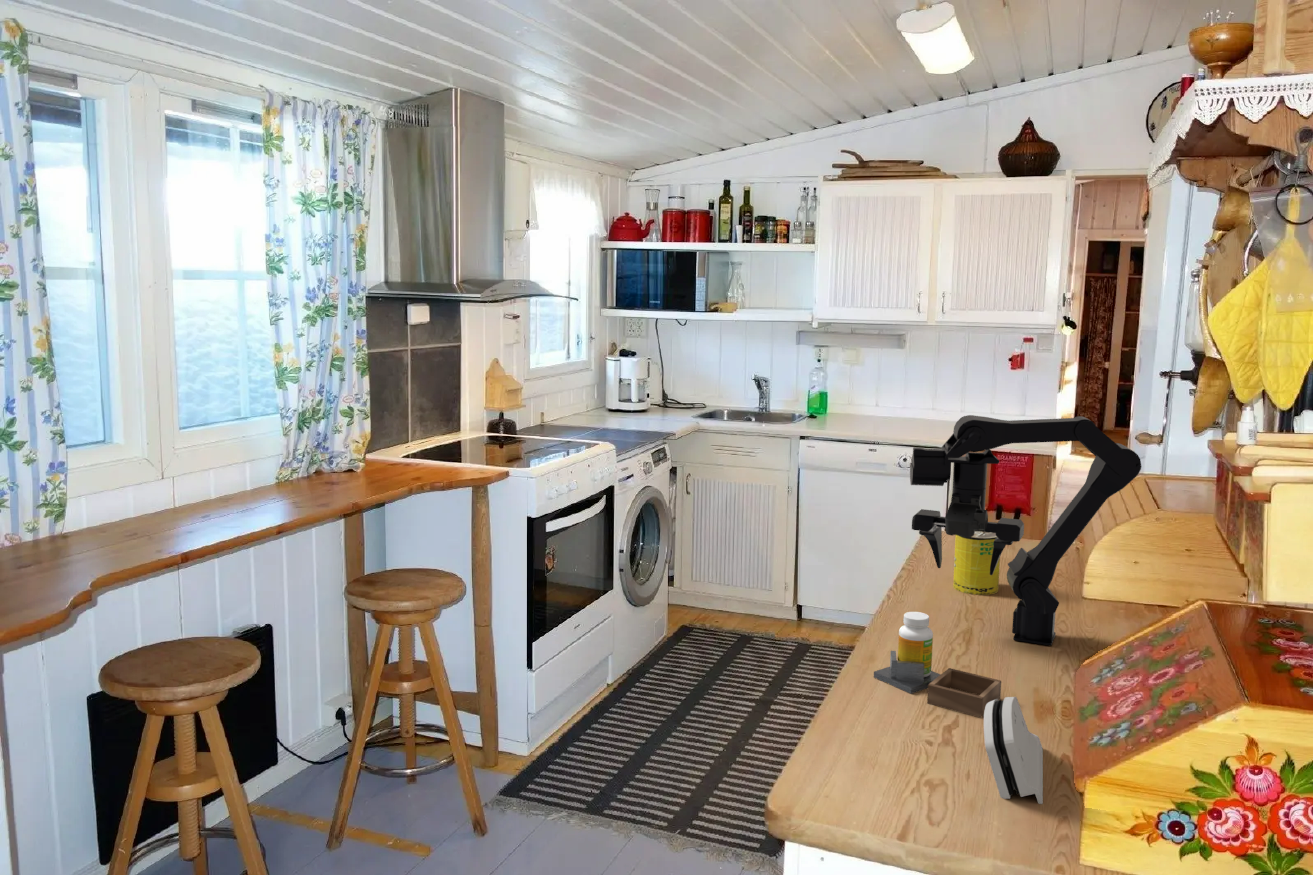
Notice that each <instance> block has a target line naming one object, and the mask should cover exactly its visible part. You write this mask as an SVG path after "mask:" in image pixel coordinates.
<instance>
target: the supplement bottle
mask: <svg viewBox="0 0 1313 875" xmlns="http://www.w3.org/2000/svg"><path fill="white" fill-rule="evenodd" d="M902 621H903V624H904V625H902V626H901V627H900V628H899V630H898V640H897V641H898V642H897V643H898V644H897V661H910V662H924V677H927V676H929V675H930V674H931V671H932V664H933V663H932V662H933V661H932V660H933V644H934V640H933V639H934V633H933V630H932V629H931V628H930V627H929V626H930V616H929V615H928V614H927V613H924V612H920V611H907V612H905V613H903V620H902Z"/></svg>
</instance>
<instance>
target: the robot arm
mask: <svg viewBox="0 0 1313 875" xmlns="http://www.w3.org/2000/svg"><path fill="white" fill-rule="evenodd" d="M1057 442H1060V443H1061V442H1063V443H1064V442H1079V443H1080V444H1081V445H1082V446H1084V447H1085V448H1086V449H1087V450H1088V451H1089V452H1090V453H1091V454H1092V455H1093V456H1094V457H1095V458H1093V461H1092V462H1091V465H1090V468H1089V469H1088V473H1087V477H1086V480H1085V481H1084V484H1083V486H1082V487H1081V488H1080V489H1079V490H1078V492H1077V493H1076V494H1075V496H1074V497H1073V499H1071V501H1070V502H1069V504H1068V505H1067V506H1066V508H1065V509H1064V510H1063V511H1062V513H1061V514H1060V516H1058V518H1057V519H1056V520H1055V522H1054V523H1053V524H1052V526H1051V527H1050V529H1049V530H1048V531H1047V533H1045V535H1044V536H1043V537H1042V539H1041V541H1039V543H1038V544H1037V545H1036V546H1035V547H1033V548H1031V549H1029V550H1028V551H1026V550H1025V549H1024V548H1023V547H1020V548H1019V550H1018V551H1017V553H1016V555H1015V557H1014V558H1013V559H1012V560H1011V561H1010V562H1008V563H1007V566H1008V569H1007V572H1006V579H1007V580H1006V581H1007V583H1008V585H1009V586H1010V589H1011V590H1012V592H1013V593H1014V595H1015V596H1016V598H1018V599H1019V600H1018V602H1017V605H1016V607H1015V609H1014V611H1013V613H1012V626H1011V627H1012V628H1011V629H1012V631H1011V633H1012V634H1013V640H1014V641H1017V642H1018V641H1019V642H1025V643H1031V644H1035V645H1036V644H1038V645H1044V646H1052V645H1053V643H1054V639H1055V637H1056V631H1055V624H1056V612H1057V610H1058V607H1059V605H1060V601H1058V598H1056V596H1055V594H1053V592H1052V590H1051V589H1050V588H1049V587H1050V585H1051V583H1052V581H1053V578H1054V575H1055V574H1056V573H1055V572H1056V569H1057V566H1058V564H1059V562H1060V560H1061V559H1062V558H1063V557H1064V556H1065V553H1067V551H1068V550H1069V549H1070V548H1071V546H1072V545H1073V543H1074V542H1075V541H1076V540H1077V538H1078V537H1079V536H1080V535H1081V533H1082V532H1083V531H1084V529H1085V528H1086V527H1087V526H1088V524H1089V523H1090V521H1091V520H1092V519H1093V518H1094V517H1095V515H1096V514H1097V513H1098V511H1099V510H1100V508H1101V507H1103V505H1104V503H1105V502H1106V501H1107V500H1108V499H1109V498H1110V497H1111V496H1114V495H1116V493H1118V492H1120V491H1121V490H1123V489H1125V487H1126V486H1128V485H1129V484H1130V483H1131V482H1132V481H1134V479H1135V478H1136V477H1137V476H1138V475H1139V474H1140V472H1141V470H1142V462H1141V458H1140V457H1139V454H1137V452H1135V450H1132V449H1131V448H1129V447H1128V446H1126V445H1123V444H1122V443H1118V442H1115V441H1114V440H1113V439H1111V438H1110V437H1109V436H1108V435H1106V434H1105V433H1104V432H1103V431H1102V430H1101V429H1100V428H1098V427H1097V426H1096V424H1095V422H1094V421H1092V420H1090V419H1089V418H1087V417H1085V416H1079V415H1078V416H1075V417H1068V418H1067V417H1065V418H1064V417H1063V418H1041V419H1040V418H1039V419H1017V420H1016V419H1014V420H1012V419H1011V420H1006V419H998V418H993V417H988V416H980V415H974V414H973V415H972V414H969V415H964V416H961V417H960V418H959V419H957V421H956V422H955V424H954V426H953V432H952V434H951V436H949V438H947V440H946V441H945V443H944V444H943V445H942V446H941V448H925V447H917V446H916V447H915V446H914V447H912V456H911V462H910V464H909V480H910V485H911V486H924V487H925V486H929V487H930V486H932V487H943V486H945V485H944V484H945V483H946V484H947V483H948V482H949V481H950V480H951V473H952V489H951V490H952V492H951V499H950V504H949V506H948V509H947V512H946V514H945V516H941V511H940V510H933V509H922V508H921V509H920V510H919V511H917V513H915V514H914V515H913V516H912V517H911V518H912V519H911V530H913V531H918V534H919V536H920V535H921V536H924V538H926V540H927V542H928V543H929V546H930V548H931V551H932V555H933V557H934V561H935V563H936V566H937V569H940V568H941V567H942V562H943V561H942V560H943V540H942V539H943V536H942V534H943V530H942V528H945V534H946V535H948V536H955V535H960V536H964V537H972V536H974V533H975V531H981V532H990V533H996V536H997V537H996V539H995V540H994V546H993V553H992V559H991V565H990V575H993V573H994V570H995V568H996V565H997V563H998V561H999V558H1000V559H1001V555H1002V553H1003V551H1004V549H1005V548H1006V546H1012V545H1013V543H1015V542H1016V543H1017V542H1020V541H1021V540H1022V537H1024V535H1025V532H1024V531H1025V523H1024V521H1022V519H1017V518H1009V517H1001V518H1000V519H999V520H998V522H995V521H989V513H988V510H987V509H986V495H987V494H986V493H987V490H986V489H987V472H988V464H991V465H992V464H994V465H998V464H1000V460H999V459H998V457H996V456H995V455H994V453H993V452H992V449H996V448H999V447H1002V446H1006V445H1010V444H1011V445H1012V444H1029V443H1030V444H1033V443H1057ZM952 463H953V467H952V468H953V469H952V468H951V466H952ZM951 470H953V471H952V472H951Z"/></svg>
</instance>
